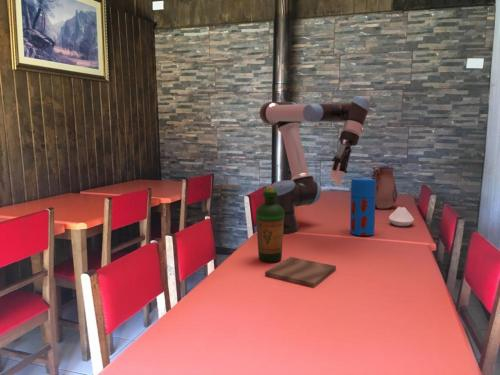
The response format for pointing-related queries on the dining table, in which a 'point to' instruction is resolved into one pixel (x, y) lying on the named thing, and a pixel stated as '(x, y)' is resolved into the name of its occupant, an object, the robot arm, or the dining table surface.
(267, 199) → the bottle
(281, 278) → the walnut board
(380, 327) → the dining table surface
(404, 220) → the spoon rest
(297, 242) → the dining table surface
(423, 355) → the dining table surface
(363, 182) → the thermos
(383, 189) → the ceramic pitcher
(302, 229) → the dining table surface
